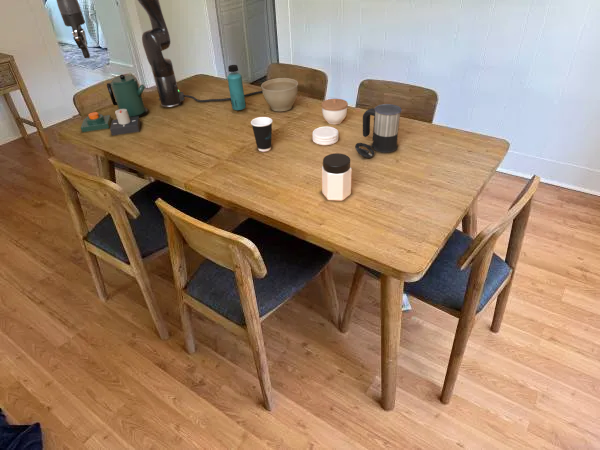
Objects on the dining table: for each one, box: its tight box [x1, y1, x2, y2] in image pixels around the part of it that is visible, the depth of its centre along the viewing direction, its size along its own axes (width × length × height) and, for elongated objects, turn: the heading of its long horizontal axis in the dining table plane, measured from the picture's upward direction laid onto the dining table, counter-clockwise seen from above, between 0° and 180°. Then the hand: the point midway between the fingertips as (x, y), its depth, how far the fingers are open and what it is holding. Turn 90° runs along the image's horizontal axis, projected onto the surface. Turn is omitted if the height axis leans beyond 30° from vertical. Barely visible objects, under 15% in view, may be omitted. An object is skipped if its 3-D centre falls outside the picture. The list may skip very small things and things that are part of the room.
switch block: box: [80, 113, 113, 133], centre depth 179 cm, size 11×10×4 cm
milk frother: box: [354, 103, 402, 159], centre depth 145 cm, size 14×16×15 cm
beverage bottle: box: [226, 64, 247, 111], centre depth 180 cm, size 6×7×20 cm
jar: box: [321, 152, 353, 201], centre depth 125 cm, size 9×8×12 cm
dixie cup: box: [250, 116, 273, 152], centre depth 152 cm, size 8×8×11 cm
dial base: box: [109, 116, 141, 136], centre depth 175 cm, size 11×10×3 cm
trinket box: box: [320, 98, 349, 125], centre depth 169 cm, size 11×11×9 cm
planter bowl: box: [260, 77, 299, 112], centre depth 183 cm, size 16×16×11 cm
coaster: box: [311, 125, 339, 146], centre depth 157 cm, size 10×10×4 cm
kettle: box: [106, 74, 149, 119], centre depth 183 cm, size 18×13×18 cm
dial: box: [114, 108, 130, 125], centre depth 173 cm, size 5×5×5 cm
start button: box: [87, 111, 100, 119], centre depth 178 cm, size 4×4×2 cm
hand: (87, 57), depth 170 cm, fingers closed
